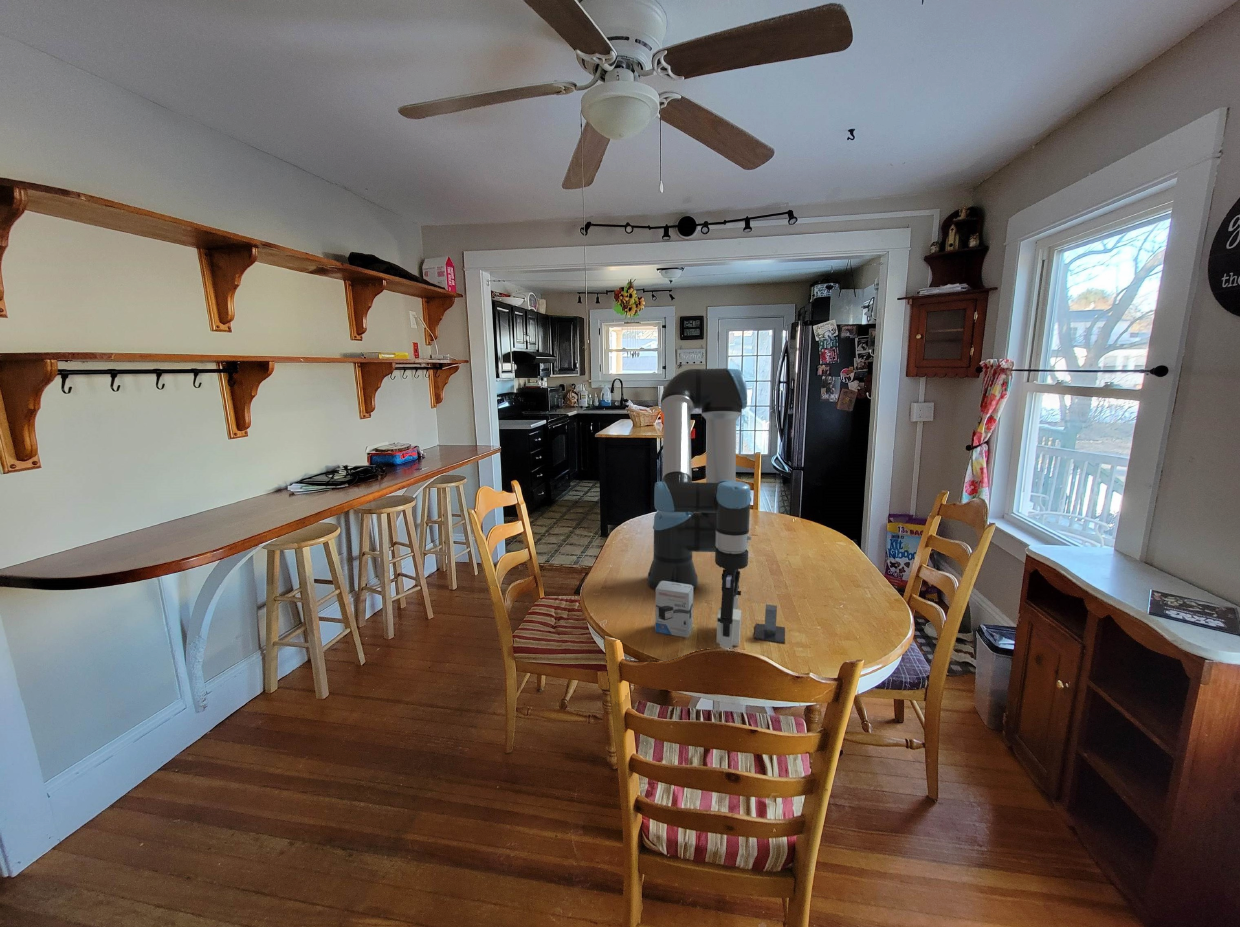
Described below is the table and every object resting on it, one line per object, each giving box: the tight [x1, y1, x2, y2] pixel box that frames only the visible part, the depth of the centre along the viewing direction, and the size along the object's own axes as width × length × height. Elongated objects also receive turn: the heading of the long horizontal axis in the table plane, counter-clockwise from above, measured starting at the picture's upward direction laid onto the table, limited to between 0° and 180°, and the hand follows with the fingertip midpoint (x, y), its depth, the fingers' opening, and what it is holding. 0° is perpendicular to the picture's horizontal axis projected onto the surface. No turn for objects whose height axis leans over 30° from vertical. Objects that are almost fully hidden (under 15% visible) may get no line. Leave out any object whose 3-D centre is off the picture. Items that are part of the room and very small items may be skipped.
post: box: [753, 603, 786, 644], centre depth 124 cm, size 7×7×7 cm
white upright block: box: [715, 606, 742, 647], centre depth 122 cm, size 5×5×7 cm
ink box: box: [654, 581, 694, 638], centre depth 125 cm, size 8×5×12 cm, turn 69°
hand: (729, 633), depth 122 cm, fingers open, 13 cm apart
